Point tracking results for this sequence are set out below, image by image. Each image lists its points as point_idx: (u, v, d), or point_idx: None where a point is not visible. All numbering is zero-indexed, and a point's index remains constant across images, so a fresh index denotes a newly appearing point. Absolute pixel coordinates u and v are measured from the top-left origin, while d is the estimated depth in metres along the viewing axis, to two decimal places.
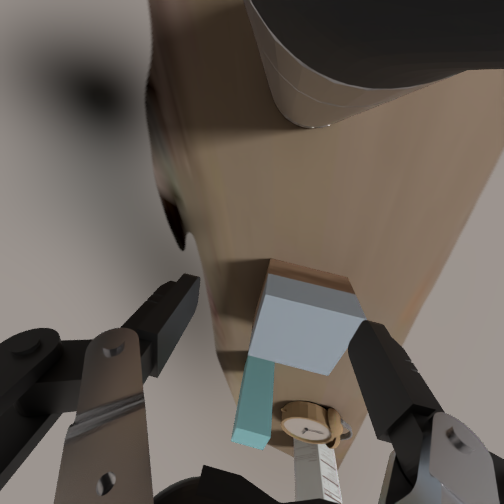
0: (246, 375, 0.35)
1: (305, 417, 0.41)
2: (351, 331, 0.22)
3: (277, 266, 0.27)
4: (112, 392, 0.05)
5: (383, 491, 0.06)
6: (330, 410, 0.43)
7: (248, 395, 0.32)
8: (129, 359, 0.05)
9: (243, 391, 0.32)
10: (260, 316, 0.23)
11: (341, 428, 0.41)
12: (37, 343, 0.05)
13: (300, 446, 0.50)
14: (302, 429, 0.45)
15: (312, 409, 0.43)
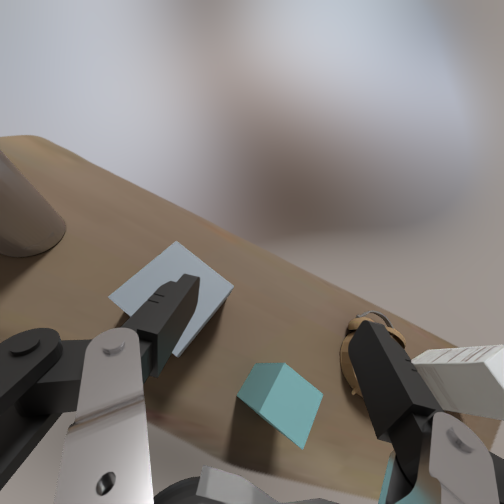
0: (244, 398, 0.25)
1: None
2: (184, 252, 0.29)
3: None
4: (112, 392, 0.05)
5: (383, 491, 0.06)
6: (348, 327, 0.38)
7: (253, 395, 0.23)
8: (129, 359, 0.05)
9: (248, 402, 0.23)
10: (129, 313, 0.24)
11: (363, 317, 0.37)
12: (37, 343, 0.05)
13: (434, 395, 0.34)
14: None
15: (345, 346, 0.35)
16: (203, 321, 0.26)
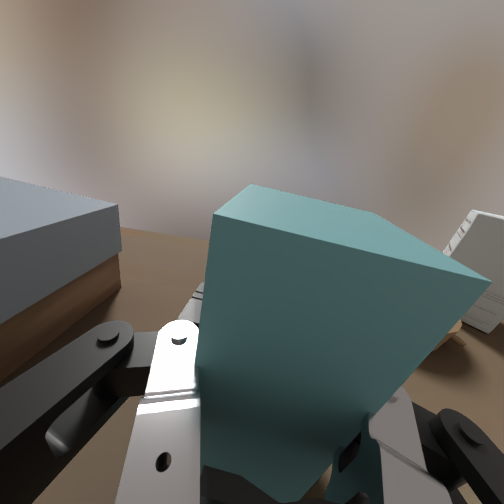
0: None
1: None
2: None
3: None
4: (174, 378, 0.05)
5: (335, 456, 0.06)
6: None
7: None
8: None
9: None
10: None
11: None
12: (117, 333, 0.06)
13: (477, 309, 0.24)
14: None
15: None
16: (22, 230, 0.10)
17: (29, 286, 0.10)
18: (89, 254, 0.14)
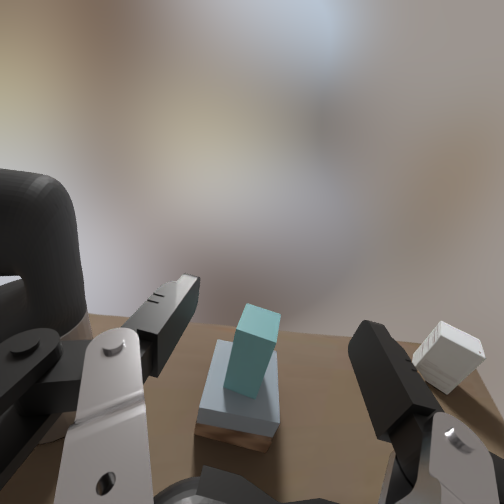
0: (228, 365, 0.28)
1: None
2: (229, 344, 0.36)
3: None
4: (112, 392, 0.05)
5: (383, 491, 0.06)
6: None
7: None
8: (129, 359, 0.05)
9: None
10: (224, 410, 0.27)
11: None
12: (37, 343, 0.05)
13: (441, 381, 0.45)
14: None
15: None
16: (277, 386, 0.31)
17: None
18: None
